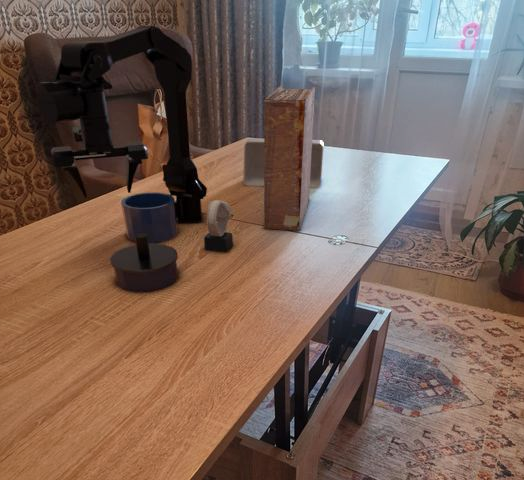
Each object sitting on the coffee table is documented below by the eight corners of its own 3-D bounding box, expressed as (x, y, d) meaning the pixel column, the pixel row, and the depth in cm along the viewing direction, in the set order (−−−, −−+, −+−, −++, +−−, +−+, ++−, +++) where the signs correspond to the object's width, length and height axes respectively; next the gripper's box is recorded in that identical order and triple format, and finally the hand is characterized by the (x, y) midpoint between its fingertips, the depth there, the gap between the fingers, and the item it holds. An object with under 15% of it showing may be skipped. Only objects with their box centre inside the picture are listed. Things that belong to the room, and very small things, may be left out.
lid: (180, 247, 106) (177, 222, 103) (175, 274, 95) (172, 248, 91) (117, 248, 105) (112, 224, 102) (104, 277, 94) (99, 250, 91)
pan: (179, 264, 108) (177, 245, 105) (174, 290, 97) (172, 270, 95) (122, 265, 107) (119, 247, 104) (111, 292, 97) (107, 272, 94)
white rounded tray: (321, 174, 166) (324, 135, 159) (320, 188, 153) (323, 146, 146) (250, 172, 169) (249, 133, 162) (243, 185, 156) (242, 144, 149)
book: (278, 198, 145) (280, 85, 127) (309, 200, 143) (315, 86, 126) (264, 229, 124) (263, 100, 107) (299, 231, 123) (305, 101, 106)
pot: (179, 223, 128) (176, 191, 123) (175, 242, 118) (171, 208, 113) (131, 225, 127) (126, 192, 122) (123, 243, 117) (117, 209, 112)
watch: (235, 242, 118) (233, 197, 111) (224, 255, 111) (221, 208, 105) (213, 239, 119) (211, 195, 113) (201, 252, 113) (198, 206, 106)
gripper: (133, 107, 105) (143, 180, 114) (42, 113, 99) (60, 189, 108) (143, 116, 97) (153, 194, 106) (44, 122, 91) (63, 204, 100)
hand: (107, 194), depth 105 cm, fingers open, 9 cm apart
